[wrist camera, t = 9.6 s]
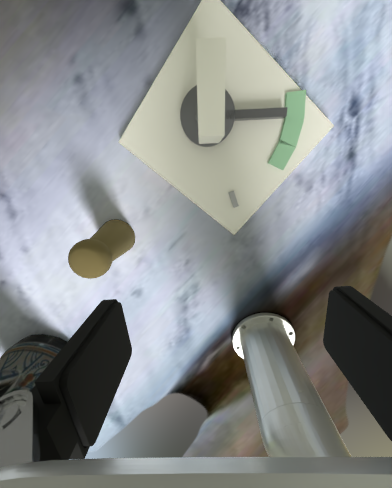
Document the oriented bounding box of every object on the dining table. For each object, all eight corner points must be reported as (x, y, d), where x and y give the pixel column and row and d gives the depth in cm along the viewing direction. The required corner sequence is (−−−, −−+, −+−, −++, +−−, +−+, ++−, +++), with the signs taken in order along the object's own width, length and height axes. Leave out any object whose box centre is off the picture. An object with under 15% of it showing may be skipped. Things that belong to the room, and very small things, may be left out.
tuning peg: (182, 148, 28) (173, 137, 19) (179, 87, 26) (166, 40, 16) (280, 143, 28) (322, 131, 18) (285, 82, 26) (338, 30, 16)
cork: (111, 212, 34) (72, 231, 23) (141, 233, 35) (117, 260, 25) (94, 239, 36) (50, 268, 25) (124, 258, 37) (94, 294, 26)
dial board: (328, 127, 29) (337, 124, 27) (232, 232, 35) (234, 236, 33) (209, -3, 24) (209, -17, 22) (122, 143, 30) (116, 141, 28)
